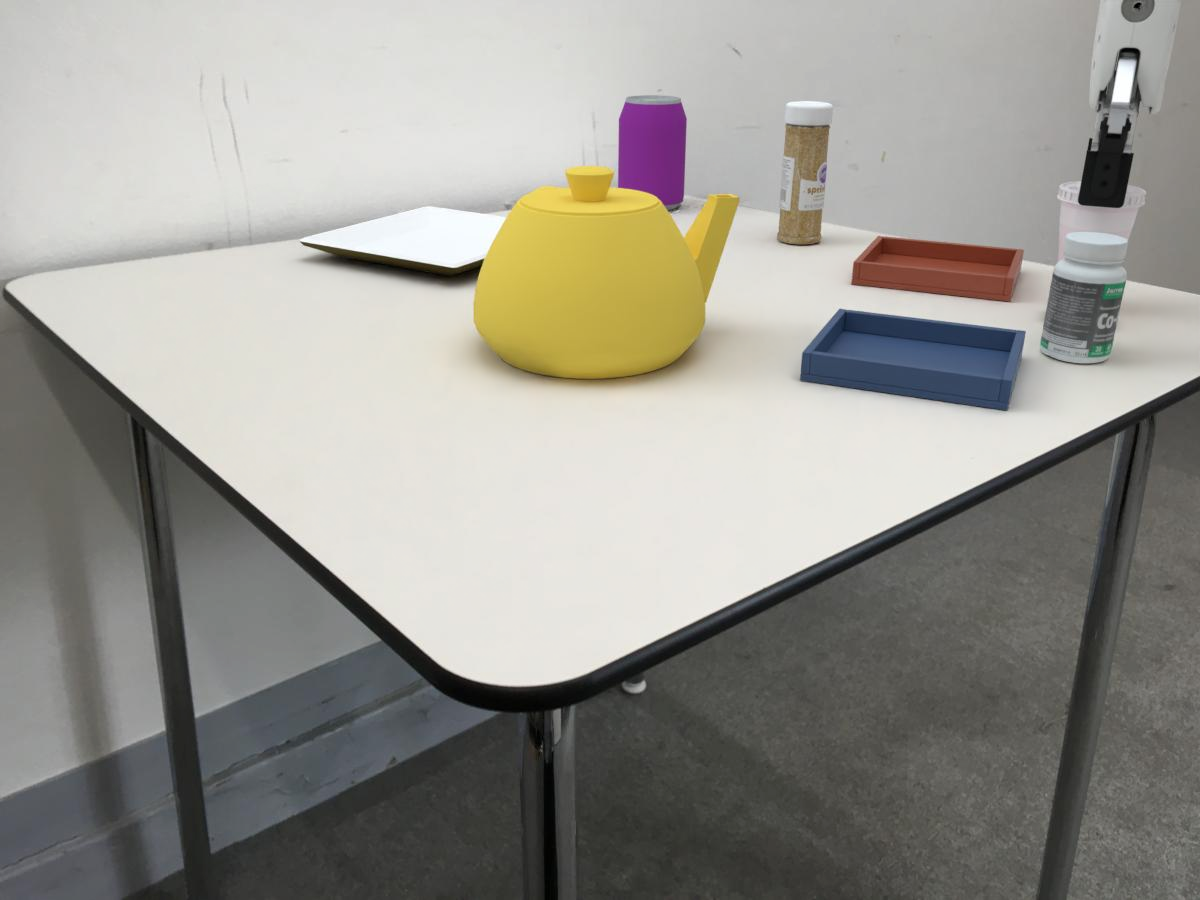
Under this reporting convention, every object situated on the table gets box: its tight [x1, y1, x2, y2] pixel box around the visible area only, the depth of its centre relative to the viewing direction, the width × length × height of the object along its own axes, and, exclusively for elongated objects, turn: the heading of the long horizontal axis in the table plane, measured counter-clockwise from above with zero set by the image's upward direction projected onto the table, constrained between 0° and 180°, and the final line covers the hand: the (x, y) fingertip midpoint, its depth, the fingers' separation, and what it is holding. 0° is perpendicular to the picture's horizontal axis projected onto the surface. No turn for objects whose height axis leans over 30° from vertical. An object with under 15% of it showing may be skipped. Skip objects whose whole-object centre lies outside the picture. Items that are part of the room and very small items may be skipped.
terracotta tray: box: [850, 235, 1025, 302], centre depth 97 cm, size 13×11×2 cm
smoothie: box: [1056, 180, 1147, 263], centre depth 86 cm, size 6×6×14 cm
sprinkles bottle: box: [776, 100, 834, 246], centre depth 108 cm, size 5×5×13 cm
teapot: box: [473, 165, 741, 380], centre depth 78 cm, size 20×19×13 cm
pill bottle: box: [1039, 232, 1129, 364], centre depth 77 cm, size 5×5×8 cm
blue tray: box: [799, 308, 1027, 411], centre depth 75 cm, size 13×11×2 cm
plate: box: [298, 205, 507, 277], centre depth 105 cm, size 19×19×2 cm
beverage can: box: [617, 94, 688, 211], centre depth 124 cm, size 8×8×12 cm
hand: (1101, 195), depth 86 cm, fingers closed on smoothie, 6 cm apart
